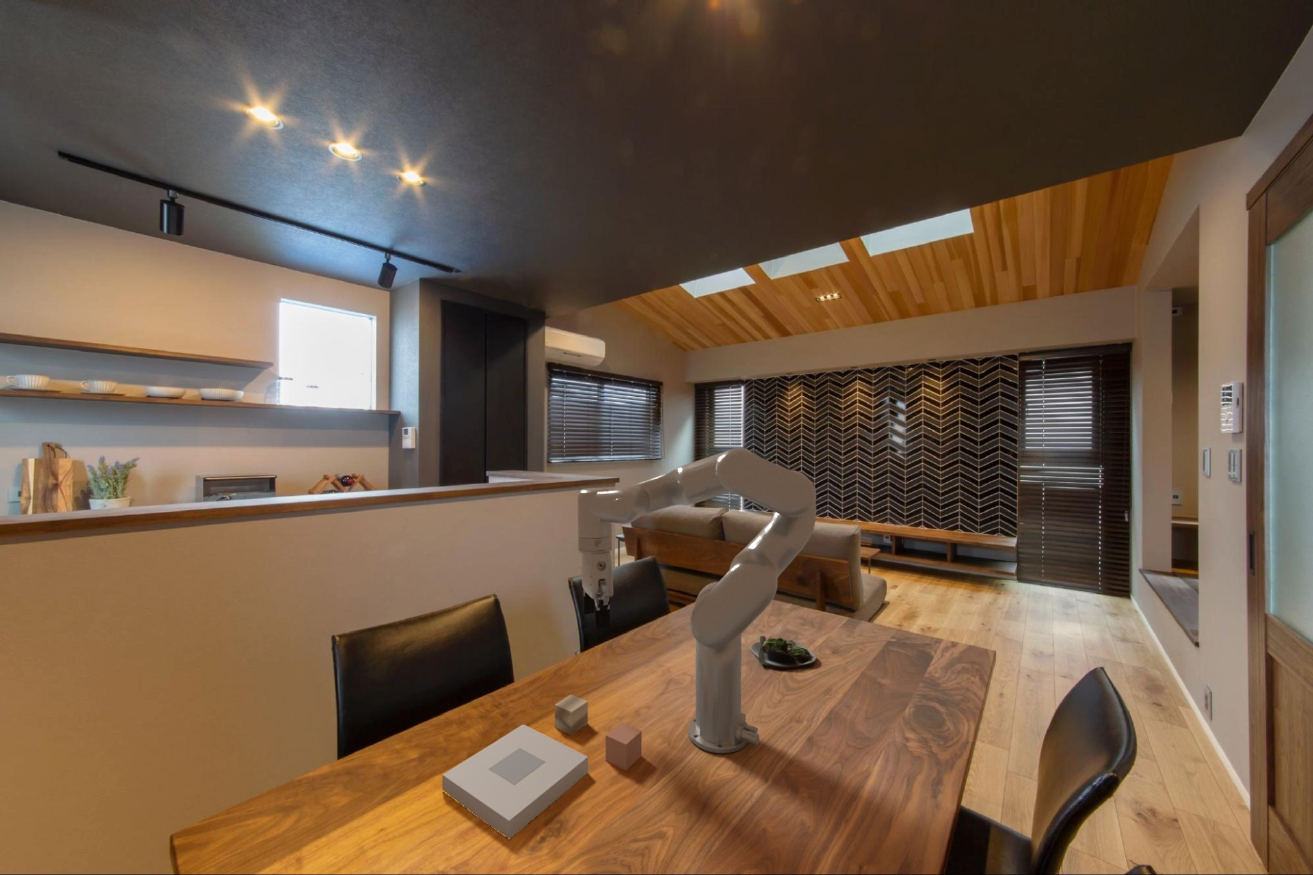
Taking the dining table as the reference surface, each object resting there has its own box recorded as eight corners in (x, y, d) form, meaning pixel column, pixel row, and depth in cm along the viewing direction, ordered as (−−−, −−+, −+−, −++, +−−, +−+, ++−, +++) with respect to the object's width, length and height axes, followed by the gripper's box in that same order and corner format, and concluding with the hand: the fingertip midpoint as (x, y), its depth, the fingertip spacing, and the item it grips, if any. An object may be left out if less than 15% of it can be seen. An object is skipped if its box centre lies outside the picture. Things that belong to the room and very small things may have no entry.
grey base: (587, 772, 88) (587, 756, 88) (509, 839, 73) (509, 820, 73) (523, 738, 98) (523, 723, 98) (442, 791, 83) (442, 774, 83)
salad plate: (737, 644, 145) (737, 629, 145) (790, 639, 149) (790, 624, 149) (764, 674, 126) (764, 657, 126) (824, 667, 130) (824, 651, 130)
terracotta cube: (641, 756, 93) (641, 730, 93) (625, 771, 89) (626, 744, 89) (621, 747, 96) (621, 722, 96) (605, 760, 92) (605, 735, 92)
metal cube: (587, 724, 104) (587, 701, 104) (571, 735, 99) (571, 711, 99) (571, 716, 106) (571, 694, 106) (554, 727, 102) (554, 704, 102)
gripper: (623, 549, 100) (624, 631, 99) (600, 535, 115) (601, 605, 115) (588, 553, 97) (589, 637, 96) (570, 538, 113) (571, 610, 112)
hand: (596, 619), depth 106 cm, fingers open, 9 cm apart
